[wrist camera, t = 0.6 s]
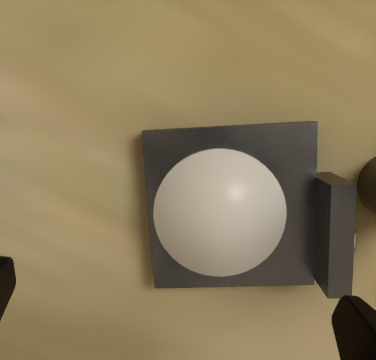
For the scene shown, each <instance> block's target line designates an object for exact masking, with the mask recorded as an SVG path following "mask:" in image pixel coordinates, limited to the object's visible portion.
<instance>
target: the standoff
mask: <svg viewBox="0 0 376 360" xmlns="http://www.w3.org/2000/svg"><path fill="white" fill-rule="evenodd" d="M358 194H359V197H360V199H361V201H362V202H363V204H364V205H365V206H366V207H367V208H368V209H370V210H371V211H373V212H375V213H376V157H375V158H373V159H372V160H371V161H369V162H368V163H367V164H366V166H365V167H364V168H363V170H362V172H361V174H360V176H359V180H358Z"/></svg>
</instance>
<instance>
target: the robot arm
mask: <svg viewBox="0 0 376 360" xmlns="http://www.w3.org/2000/svg"><path fill="white" fill-rule="evenodd" d="M15 285H16V276H15V269H14V262H13V259H12V258H10V257H5V256H0V320H1V318H2V316H3V313H4V311H5V309H6V307H7V304H8V302H9V300H10V298H11V296H12V293H13V291H14V289H15ZM332 326H333V330H334V334H335V338H336V343H337V347H338V351H339V355H340V359H341V360H376V310H375V309H373V308H372V307H371V306H370V305H368V304H367V303H366V302H365V301H364V300H362V299H361V298H360V297H358V296H352V295H343V296H342V297H341V298H340V300H339V302H338V304H337V306H336V308H335V310H334V312H333V314H332Z"/></svg>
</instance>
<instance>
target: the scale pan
mask: <svg viewBox="0 0 376 360" xmlns="http://www.w3.org/2000/svg"><path fill="white" fill-rule="evenodd" d="M286 215H287V211H286V202H285V197H284V194H283V191H282V188H281V186H280V184H279V183H278V181H277V179H276V178H275V176H274V175H273V174H272V173H271V171H270V170H269V169H268V168H267V167H266V166H264V165H263V164H262V163H261V162H260V161H258V160H257V159H255V158H254V157H252V156H250V155H248V154H246V153H244V152H241V151H237V150H234V149H227V148H212V149H206V150H202V151H198V152H196V153H193V154H191V155H189V156H187V157H185V158H184V159H182V160H181V161H180V162H178V163H177V164H176V165H175V166H174V167H173V168H172V169H171V170H170V171H169V172H168V174H167V175H166V176H165V178H164V179H163V181H162V183H161V184H160V186H159V189H158V191H157V194H156V197H155V201H154V209H153V218H154V225H155V229H156V232H157V235H158V237H159V240H160V242H161V244H162V245H163V247H164V248H165V250H166V251H167V252H168V253H169V255H170V256H171V257H172V258H173V259H174V260H175V261H177V262H178V263H179V264H181V265H182V266H184V267H186V268H187V269H189V270H191V271H194V272H196V273H199V274H203V275H208V276H218V277H223V276H232V275H237V274H240V273H243V272H246V271H248V270H250V269H252V268H254V267H256V266H257V265H259V264H260V263H262V262H263V261H264V260H265V259H266V258H267V257H268V256H269V255H270V254H271V253H272V252H273V251H274V249H275V248H276V246H277V245H278V243H279V241H280V239H281V237H282V234H283V232H284V228H285V224H286Z"/></svg>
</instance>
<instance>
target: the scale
mask: <svg viewBox="0 0 376 360" xmlns="http://www.w3.org/2000/svg"><path fill="white" fill-rule="evenodd" d="M317 124H318V122H316V121H303V122H285V123H266V124H248V125H230V126H211V127H193V128H174V129H156V130H144V131H142V142H143V154H144V166H145V178H146V190H147V202H148V214H149V226H150V238H151V250H152V263H153V275H154V287H155V288H192V287H235V286H277V285H314V279H315V280H316V282H317V283H318V285H319V286H320V288H321V289H322V291H323V292H324V294H325V295H326V297H327V298H341V297H342V296H343V295H352V278H353V257H354V252H355V247H356V243H357V239H356V230H355V216H356V195H357V184H355V183H353V182H351V181H348V180H346V179H344V178H342V177H340V176H337V175H335V174H333V173H331V172H320V173H316V168H317ZM212 148H227V149H234V150H237V151H241V152H244V153H246V154H248V155H250V156H252V157H254V158H255V159H257V160H258V161H260V162H261V163H262V164H263V165H264V166H266V167H267V168H268V169H269V170H270V171H271V173H272V174H273V175H274V176H275V178H276V179H277V181H278V183H279V184H280V186H281V188H282V191H283V194H284V197H285V202H286V211H287V215H286V224H285V228H284V232H283V234H282V237H281V239H280V241H279V243H278V245H277V246H276V248H275V249H274V251H273V252H272V253H271V254H270V255H269V256H268V257H267V258H266V259H265V260H264V261H263V262H262V263H260V264H259V265H257V266H256V267H254V268H252V269H250V270H248V271H246V272H243V273H240V274H237V275H232V276H223V277H218V276H208V275H203V274H199V273H196V272H194V271H191V270H189V269H187V268H186V267H184V266H182V265H181V264H179V263H178V262H177V261H175V260H174V259H173V258H172V257H171V256H170V255H169V253H168V252H167V251H166V250H165V248H164V247H163V245H162V244H161V242H160V240H159V237H158V235H157V232H156V229H155V225H154V218H153V209H154V201H155V197H156V194H157V191H158V189H159V186H160V184H161V183H162V181H163V179H164V178H165V176H166V175H167V174H168V172H169V171H170V170H171V169H172V168H173V167H174V166H175V165H176V164H177V163H178V162H180V161H181V160H182V159H184V158H185V157H187V156H189V155H191V154H193V153H196V152H198V151H202V150H206V149H212Z"/></svg>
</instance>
